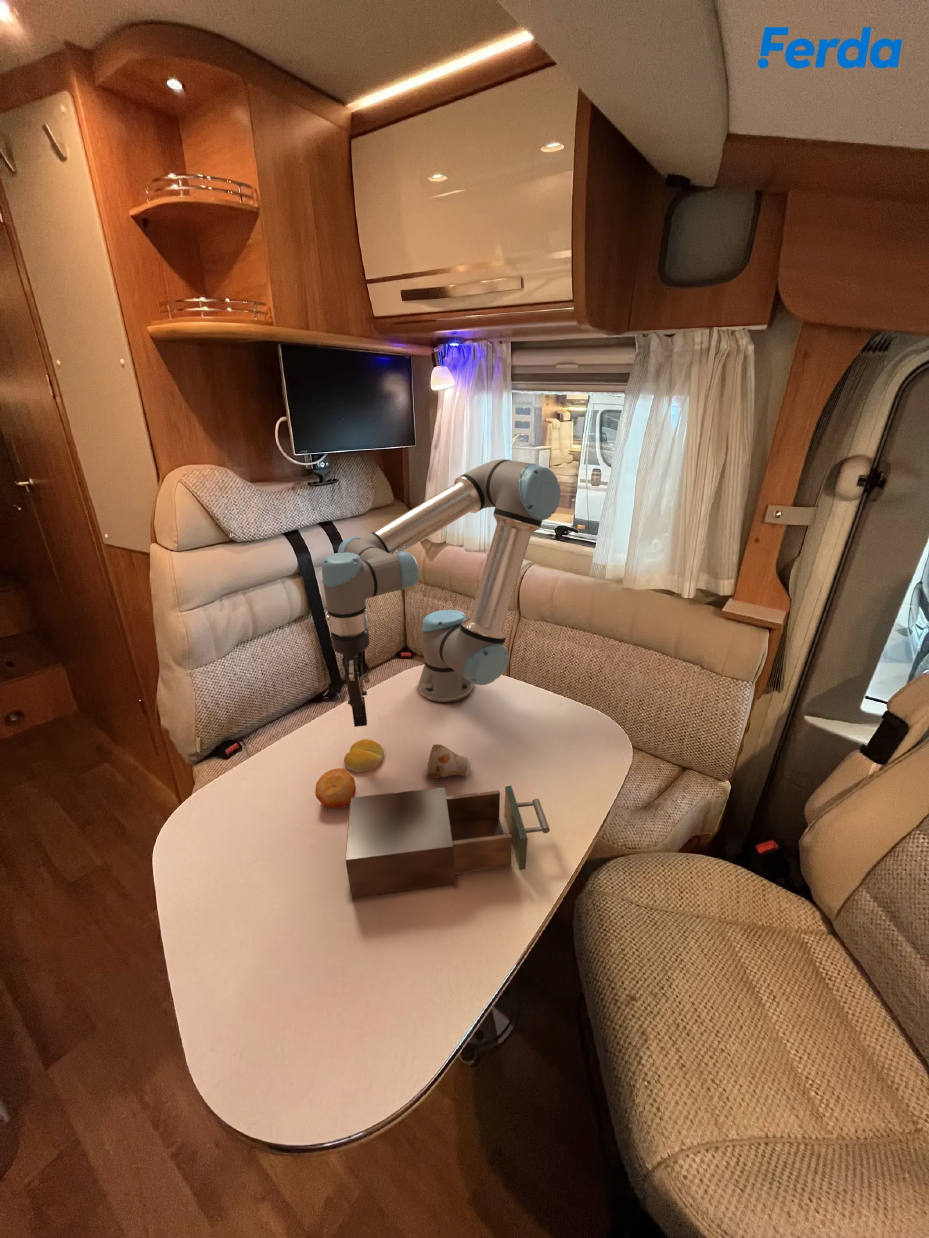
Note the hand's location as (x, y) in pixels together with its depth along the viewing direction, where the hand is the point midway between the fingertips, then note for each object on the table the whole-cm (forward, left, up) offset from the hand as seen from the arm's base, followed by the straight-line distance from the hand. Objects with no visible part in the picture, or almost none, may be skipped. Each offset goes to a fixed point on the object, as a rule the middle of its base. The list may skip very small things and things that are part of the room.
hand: (360, 723), depth 111 cm
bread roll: (0, 0, -11) cm, 11 cm away
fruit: (+12, -5, -11) cm, 17 cm away
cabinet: (+28, +8, -10) cm, 31 cm away
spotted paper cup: (+7, +19, -11) cm, 23 cm away
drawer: (+28, +24, -10) cm, 38 cm away
